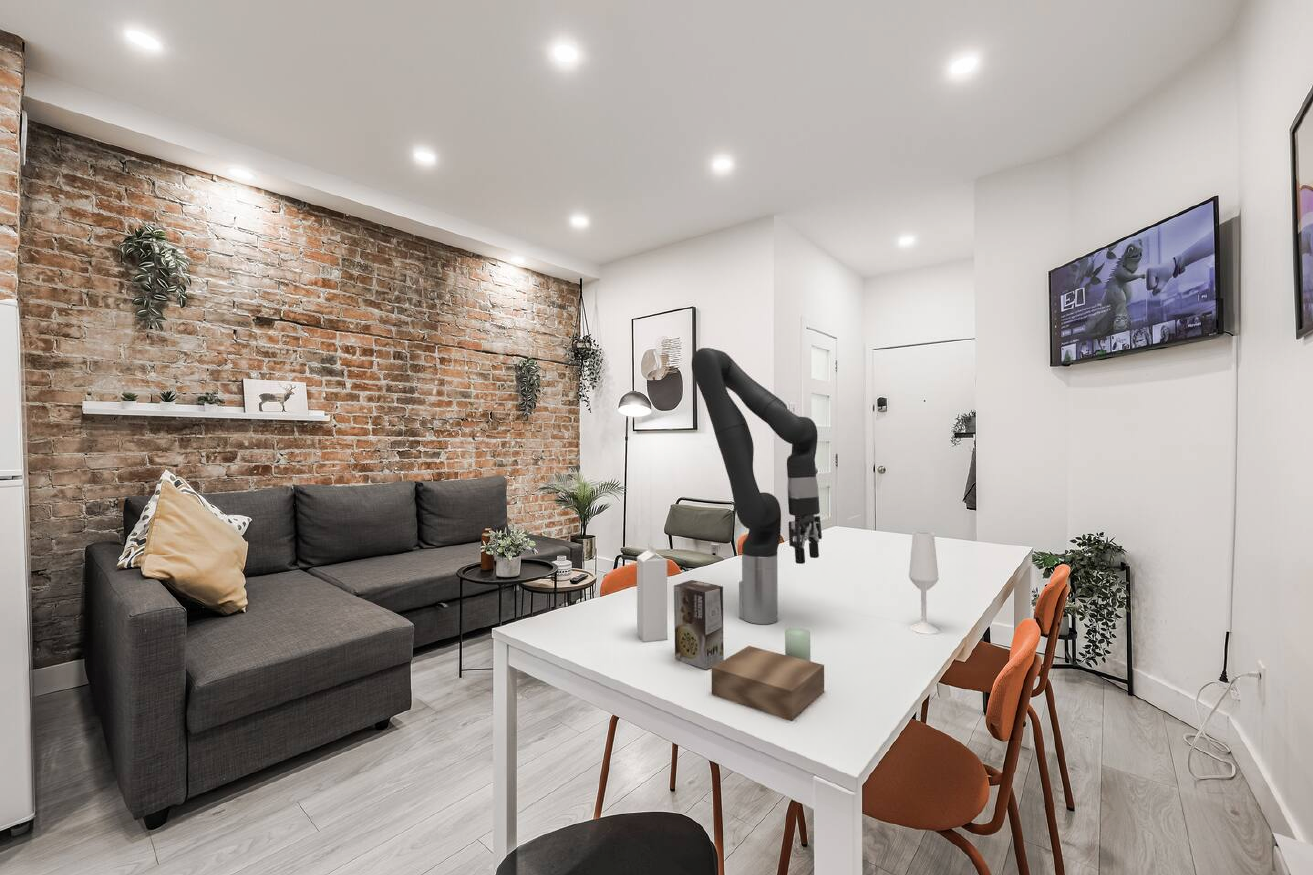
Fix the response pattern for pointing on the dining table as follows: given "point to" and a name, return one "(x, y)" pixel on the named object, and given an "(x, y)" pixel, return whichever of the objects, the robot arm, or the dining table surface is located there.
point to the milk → (651, 596)
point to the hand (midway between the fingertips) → (807, 560)
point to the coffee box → (698, 623)
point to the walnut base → (768, 681)
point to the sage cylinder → (797, 643)
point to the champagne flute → (923, 573)
